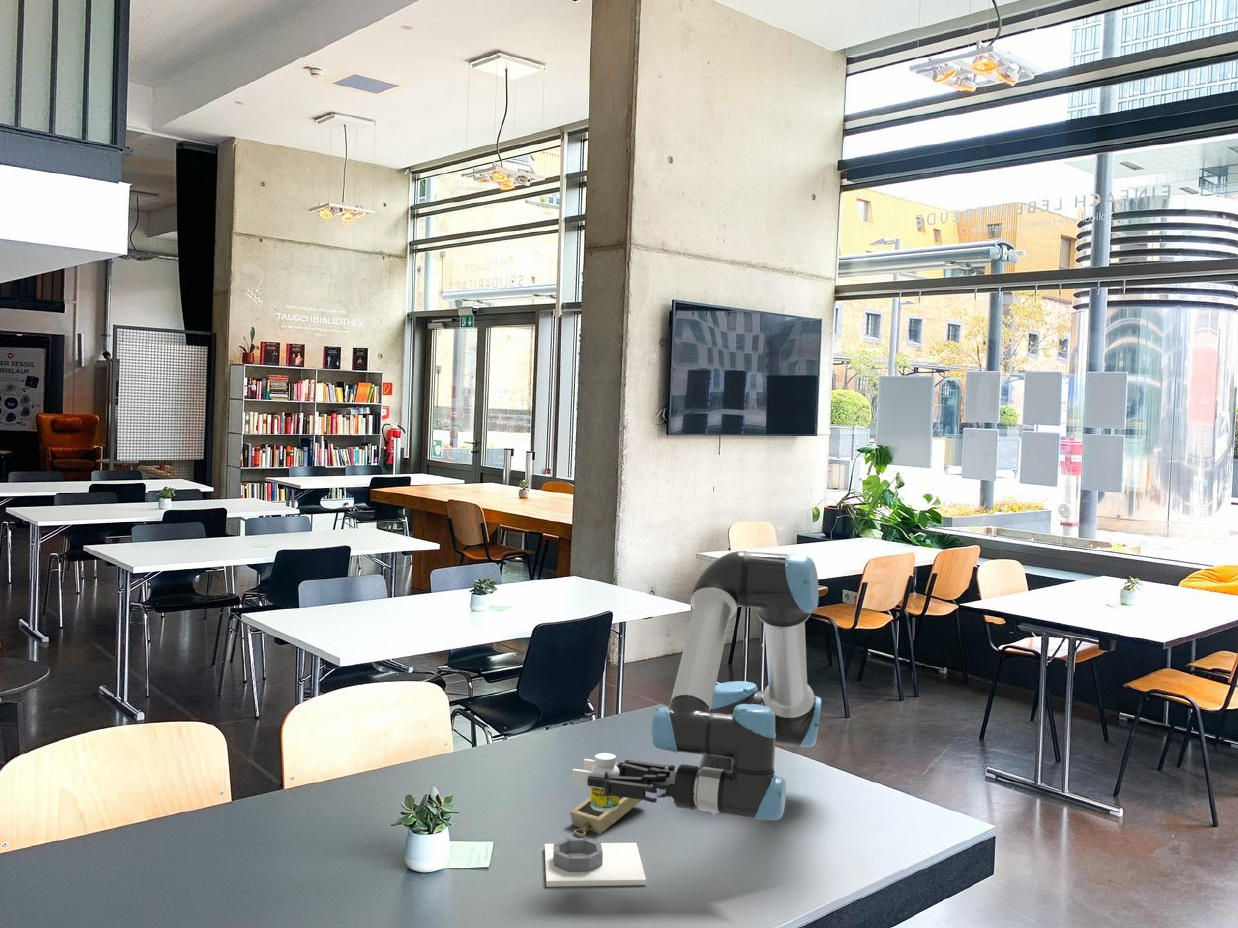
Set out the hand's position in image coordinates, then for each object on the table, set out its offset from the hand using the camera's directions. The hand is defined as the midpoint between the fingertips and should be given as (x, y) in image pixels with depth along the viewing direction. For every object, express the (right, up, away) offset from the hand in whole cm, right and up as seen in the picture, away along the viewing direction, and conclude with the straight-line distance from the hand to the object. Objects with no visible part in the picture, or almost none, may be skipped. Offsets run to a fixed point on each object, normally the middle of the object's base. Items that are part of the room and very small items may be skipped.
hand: (578, 771), depth 185 cm
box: (+5, -18, +23) cm, 29 cm away
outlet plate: (+3, -18, 0) cm, 18 cm away
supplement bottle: (+5, -6, -1) cm, 8 cm away
